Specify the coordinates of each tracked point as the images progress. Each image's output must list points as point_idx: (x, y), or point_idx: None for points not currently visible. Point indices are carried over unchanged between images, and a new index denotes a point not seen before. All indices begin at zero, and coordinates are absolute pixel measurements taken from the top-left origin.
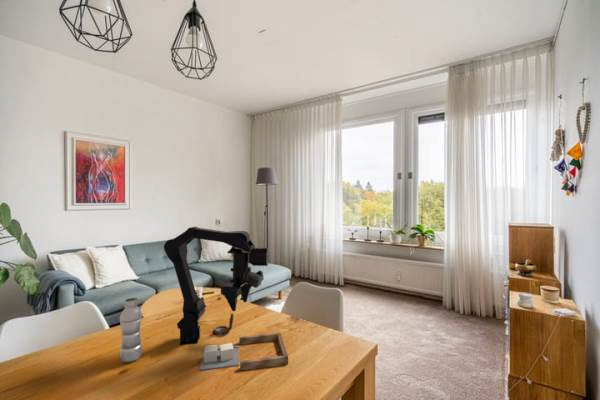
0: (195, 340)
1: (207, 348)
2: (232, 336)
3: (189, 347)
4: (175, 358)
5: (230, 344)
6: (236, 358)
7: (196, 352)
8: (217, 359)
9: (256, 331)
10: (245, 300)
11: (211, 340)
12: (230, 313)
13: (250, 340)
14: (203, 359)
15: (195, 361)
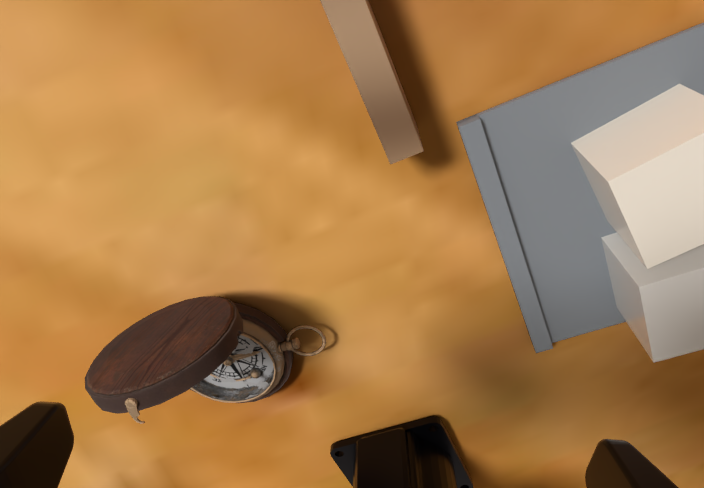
0: (417, 438)
1: (700, 334)
2: (277, 244)
3: (486, 430)
4: None
5: (647, 177)
6: (678, 56)
7: (548, 374)
8: None
9: (100, 56)
10: (44, 446)
11: (376, 356)
12: (134, 417)
13: (377, 28)
14: None
15: None
